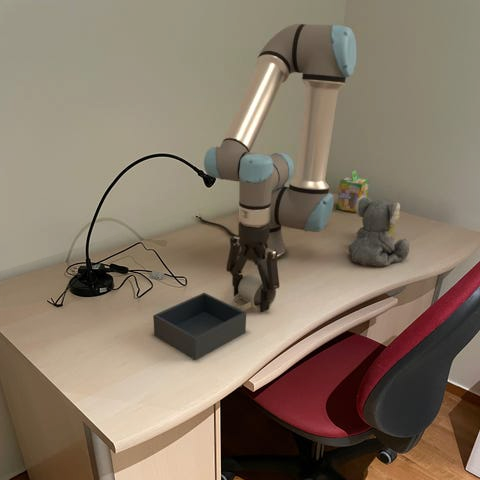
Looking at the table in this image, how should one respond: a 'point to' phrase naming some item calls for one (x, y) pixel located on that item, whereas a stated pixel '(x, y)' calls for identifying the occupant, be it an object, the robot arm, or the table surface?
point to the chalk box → (351, 192)
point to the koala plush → (377, 234)
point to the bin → (199, 325)
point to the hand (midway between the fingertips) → (251, 303)
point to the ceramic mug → (251, 292)
